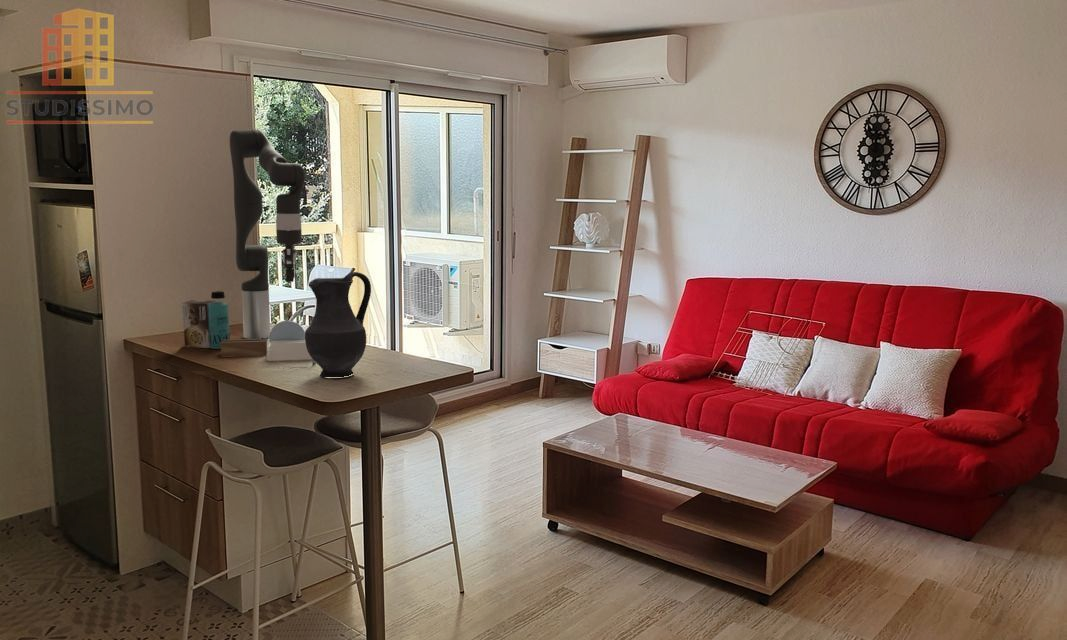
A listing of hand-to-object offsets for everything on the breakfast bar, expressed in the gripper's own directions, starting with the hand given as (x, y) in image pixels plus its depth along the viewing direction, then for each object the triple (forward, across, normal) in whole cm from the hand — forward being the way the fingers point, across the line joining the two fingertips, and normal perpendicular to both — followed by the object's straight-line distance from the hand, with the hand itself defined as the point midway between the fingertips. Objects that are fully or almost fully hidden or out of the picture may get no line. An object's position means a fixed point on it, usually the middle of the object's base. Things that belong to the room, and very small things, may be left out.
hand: (290, 280), depth 262 cm
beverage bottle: (+26, -17, -24) cm, 39 cm away
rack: (+26, 0, 0) cm, 26 cm away
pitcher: (+26, +24, +15) cm, 38 cm away
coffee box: (+26, -22, -30) cm, 46 cm away
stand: (+26, -5, -15) cm, 30 cm away
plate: (+24, 0, -3) cm, 24 cm away
